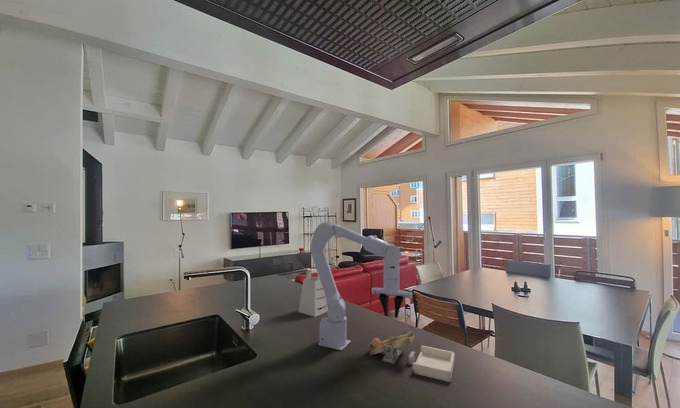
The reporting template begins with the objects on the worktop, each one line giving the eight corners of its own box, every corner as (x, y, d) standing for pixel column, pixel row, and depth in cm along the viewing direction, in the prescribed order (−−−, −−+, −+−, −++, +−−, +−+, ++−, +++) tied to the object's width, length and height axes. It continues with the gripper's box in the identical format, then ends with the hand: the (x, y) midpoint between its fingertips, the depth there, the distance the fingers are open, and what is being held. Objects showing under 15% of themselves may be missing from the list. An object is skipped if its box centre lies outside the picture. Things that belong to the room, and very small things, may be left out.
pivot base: (382, 361, 92) (382, 345, 92) (389, 350, 99) (389, 335, 100) (410, 368, 88) (410, 351, 88) (416, 356, 95) (416, 340, 95)
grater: (312, 306, 147) (313, 267, 148) (329, 310, 141) (329, 269, 141) (298, 312, 138) (299, 270, 139) (315, 316, 132) (315, 272, 133)
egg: (371, 349, 96) (369, 340, 97) (374, 346, 99) (372, 336, 99) (380, 350, 95) (378, 340, 95) (382, 346, 98) (381, 336, 98)
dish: (413, 373, 85) (413, 363, 85) (421, 353, 97) (421, 345, 97) (450, 382, 80) (450, 372, 80) (454, 360, 92) (454, 352, 92)
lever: (370, 355, 95) (367, 346, 96) (380, 342, 105) (377, 334, 106) (411, 343, 90) (407, 334, 90) (418, 330, 99) (414, 322, 100)
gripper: (414, 277, 104) (414, 315, 104) (376, 274, 111) (375, 309, 110) (409, 281, 98) (409, 322, 97) (369, 277, 104) (369, 315, 104)
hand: (391, 316), depth 103 cm, fingers open, 3 cm apart
